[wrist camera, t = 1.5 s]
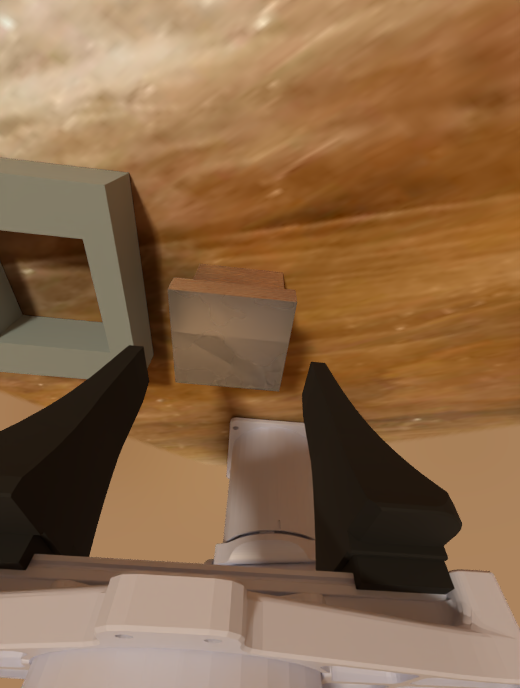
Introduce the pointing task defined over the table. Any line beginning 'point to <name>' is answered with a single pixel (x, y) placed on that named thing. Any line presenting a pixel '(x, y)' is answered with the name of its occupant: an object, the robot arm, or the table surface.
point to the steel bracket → (231, 327)
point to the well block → (104, 261)
